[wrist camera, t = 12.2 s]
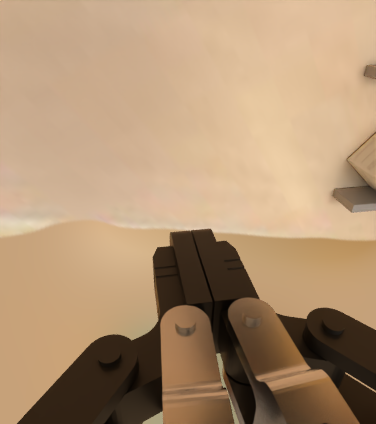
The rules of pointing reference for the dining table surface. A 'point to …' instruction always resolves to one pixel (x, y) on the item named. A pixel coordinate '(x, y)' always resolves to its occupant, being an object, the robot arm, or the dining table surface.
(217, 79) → the dining table surface
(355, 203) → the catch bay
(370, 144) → the supplement box
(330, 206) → the dining table surface
